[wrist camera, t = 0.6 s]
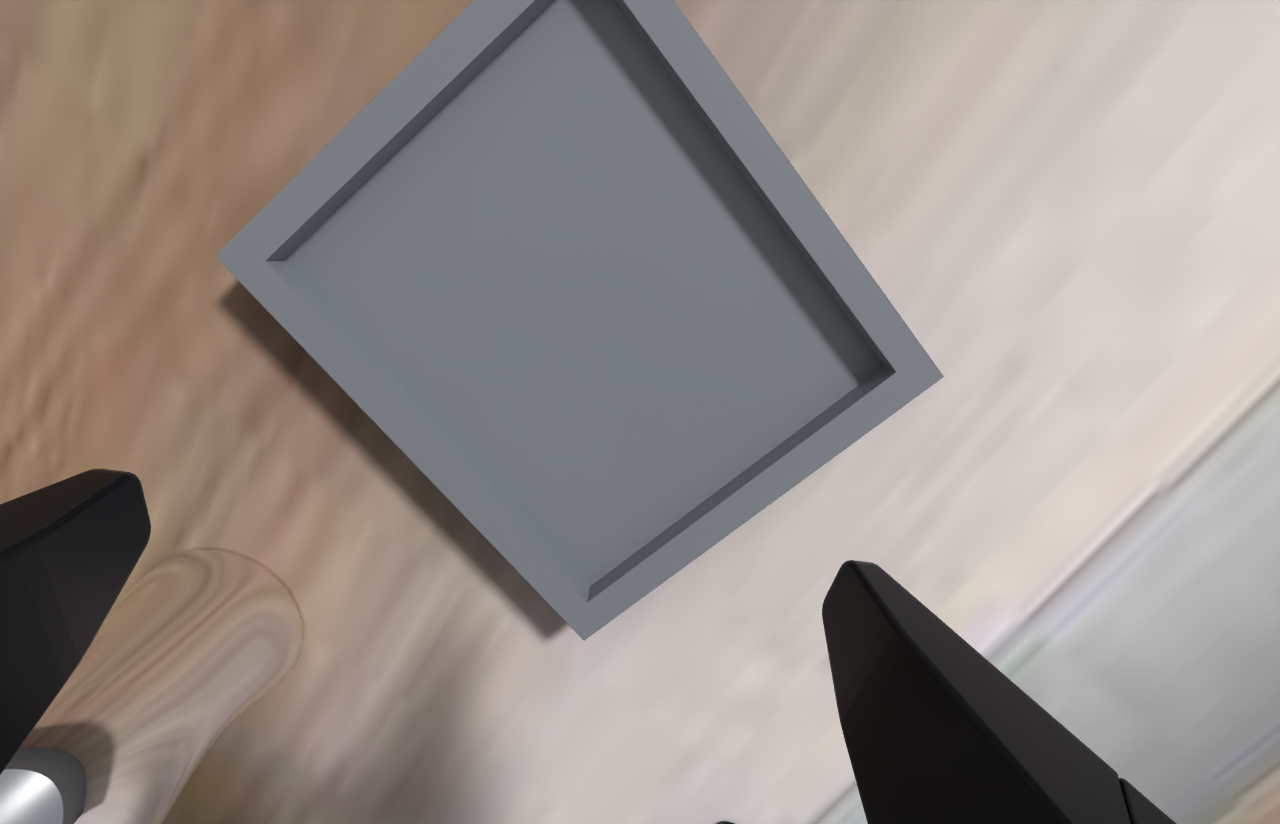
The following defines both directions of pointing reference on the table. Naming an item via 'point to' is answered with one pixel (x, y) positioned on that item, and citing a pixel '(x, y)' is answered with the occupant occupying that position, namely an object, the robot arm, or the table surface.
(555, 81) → the grey tray
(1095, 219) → the table surface
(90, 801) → the silver metal cup
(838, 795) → the table surface
